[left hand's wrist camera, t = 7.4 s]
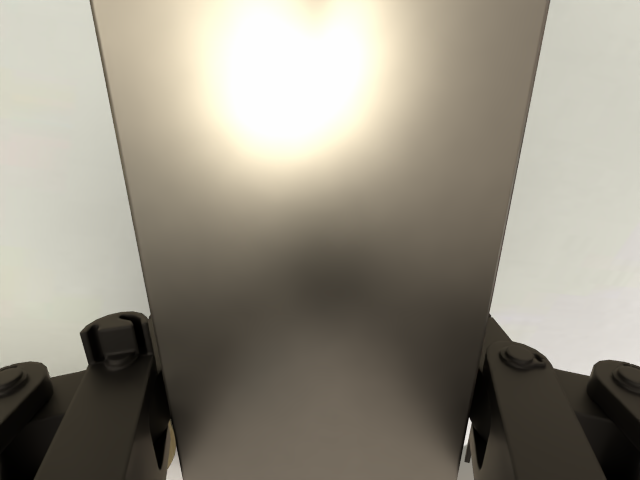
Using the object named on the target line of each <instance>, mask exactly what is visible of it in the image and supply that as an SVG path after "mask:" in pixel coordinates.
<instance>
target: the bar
mask: <svg viewBox="0 0 640 480" xmlns="http://www.w3.org/2000/svg"><path fill="white" fill-rule="evenodd" d="M549 4H550V0H90V5H91V10H92V15H93V20H94V25H95V31H96V36H97V41H98V46H99V51H100V56H101V61H102V66H103V72H104V77H105V82H106V87H107V92H108V97H109V102H110V108H111V113H112V118H113V123H114V128H115V133H116V138H117V143H118V149H119V154H120V159H121V164H122V169H123V174H124V179H125V184H126V190H127V195H128V200H129V205H130V210H131V215H132V220H133V225H134V231H135V236H136V241H137V246H138V251H139V256H140V261H141V267H142V272H143V277H144V282H145V287H146V292H147V297H148V302H149V308H150V313H151V318H152V323H153V328H154V333H155V338H156V343H157V349H158V354H159V359H160V364H161V369H162V374H163V379H164V385H165V390H166V395H167V400H168V405H169V410H170V415H171V420H172V426H173V431H174V436H175V441H176V446H177V451H178V456H179V461H180V467H181V472H182V477H183V480H457V476H458V471H459V466H460V461H461V455H462V450H463V445H464V440H465V435H466V430H467V425H468V419H469V414H470V409H471V404H472V399H473V394H474V389H475V384H476V378H477V373H478V368H479V363H480V358H481V353H482V348H483V343H484V337H485V332H486V327H487V322H488V317H489V312H490V307H491V302H492V296H493V291H494V286H495V281H496V276H497V271H498V266H499V260H500V255H501V250H502V245H503V240H504V235H505V230H506V225H507V219H508V214H509V209H510V204H511V199H512V194H513V189H514V184H515V178H516V173H517V168H518V163H519V158H520V153H521V148H522V143H523V137H524V132H525V127H526V122H527V117H528V112H529V107H530V102H531V96H532V91H533V86H534V81H535V76H536V71H537V66H538V60H539V55H540V50H541V45H542V40H543V35H544V30H545V25H546V19H547V14H548V9H549Z"/></svg>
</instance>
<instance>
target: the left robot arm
mask: <svg viewBox="0 0 640 480" xmlns="http://www.w3.org/2000/svg"><path fill="white" fill-rule="evenodd" d="M80 336H81V339H82V343H83V346H84V350H85V353H86V357H87V360H88V364H89V365H88V367H87V369H86V370H84V371H80V372H76V373H71V374H66V375H61V376H56V377H52V378H50V376H49V373H48V370H47V367H46V366H45V365H43V364H42V363H39V362H24V363H17V364H13V365H10V366H6V367H3V368H1V369H0V480H166V475H167V467H168V459H169V450H170V442H171V436H170V429H169V424H168V423H169V421H170V419H171V415H170V410H169V405H168V400H167V395H166V390H165V385H164V379H163V374H162V369H161V364H160V359H159V354H158V349H157V343H156V338H155V333H154V328H153V323H152V318H151V315H150V316H149V319H147V317H146V316H145V315H143V314H142V313H138V312H119V313H115V314H110V315H107V316H105V317H102V318H99V319H97V320H95V321H93V322H92V323H90V324H89V325H87V326H86V327H85V328H84V329H83V330H82V331H81V332H80ZM469 418H470V420H471V422H472V424H471V429H470V434H469V439H468V444H467V449H466V455H465V462H468V463H469V462H470V458H472V466H473V474H474V480H640V367H639V366H636V365H634V364H630V363H626V362H621V361H614V360H604V361H599V362H597V363H596V364H595V365H594V366H593V369H592V372H591V375H590V376H587V375H582V374H577V373H572V372H567V371H562V370H558V369H554V368H553V367H552V364H551V363H550V362H549V361H548V359H547V358H546V357H545V356H544V355H543V354H541V353H540V352H538V351H537V350H535V349H533V348H531V347H529V346H527V345H524V344H521V343H517V342H513V341H512V340H511V339H510V338H509V337H508V336H507V334H506V333H505V332H504V331H503V329H502V328H501V327H500V326H499V325H498V323H497V322H496V321H495V320H494V319H493V317H491V315H490V314H489V317H488V322H487V327H486V332H485V337H484V343H483V348H482V353H481V358H480V363H479V368H478V373H477V378H476V384H475V389H474V394H473V399H472V404H471V409H470V414H469Z"/></svg>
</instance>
